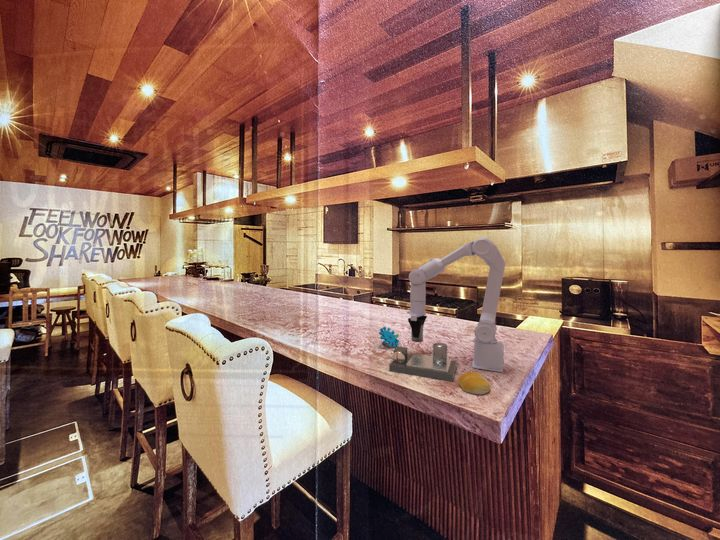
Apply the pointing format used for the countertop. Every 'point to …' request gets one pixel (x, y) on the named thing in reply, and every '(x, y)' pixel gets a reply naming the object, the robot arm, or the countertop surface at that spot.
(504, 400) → the countertop surface
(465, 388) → the bread roll
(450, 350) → the countertop surface
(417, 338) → the cylinder
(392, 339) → the gear
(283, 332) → the countertop surface
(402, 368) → the grey fixture base
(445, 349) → the cylinder
